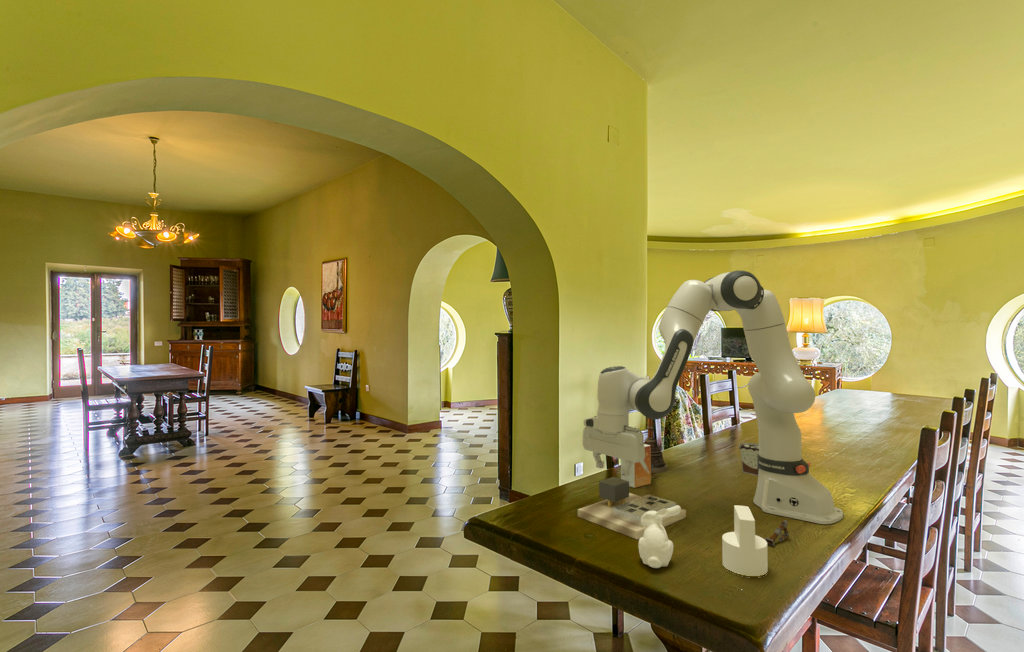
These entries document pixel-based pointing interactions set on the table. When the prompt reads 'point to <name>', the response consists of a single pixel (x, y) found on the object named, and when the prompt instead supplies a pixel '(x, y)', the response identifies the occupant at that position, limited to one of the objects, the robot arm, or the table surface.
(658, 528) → the rabbit
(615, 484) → the plug
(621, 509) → the socket
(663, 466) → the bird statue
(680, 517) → the board
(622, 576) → the table surface
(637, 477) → the small box
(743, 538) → the cylinder with rectangular tab
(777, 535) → the wooden post with brackets
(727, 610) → the table surface
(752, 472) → the food container
